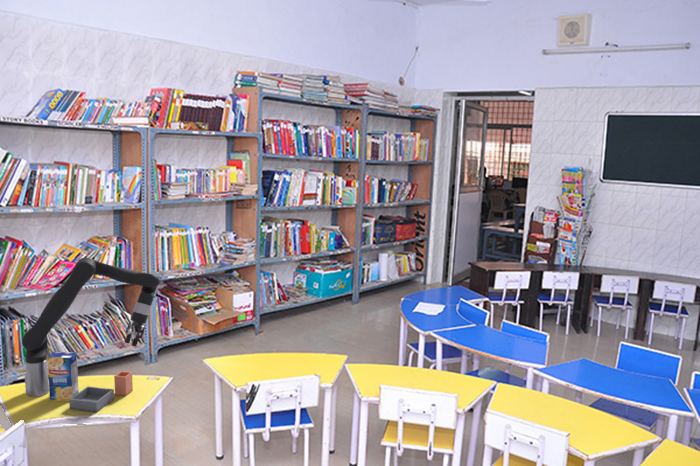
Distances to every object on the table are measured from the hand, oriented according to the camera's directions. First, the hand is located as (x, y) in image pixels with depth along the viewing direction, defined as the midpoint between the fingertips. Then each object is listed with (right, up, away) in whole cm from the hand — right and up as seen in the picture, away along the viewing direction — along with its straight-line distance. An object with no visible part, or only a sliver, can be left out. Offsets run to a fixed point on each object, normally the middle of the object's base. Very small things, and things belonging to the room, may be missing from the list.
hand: (130, 344), depth 280 cm
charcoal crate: (-15, -27, -9) cm, 32 cm away
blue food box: (-31, -25, -3) cm, 40 cm away
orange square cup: (-5, -25, +4) cm, 26 cm away
